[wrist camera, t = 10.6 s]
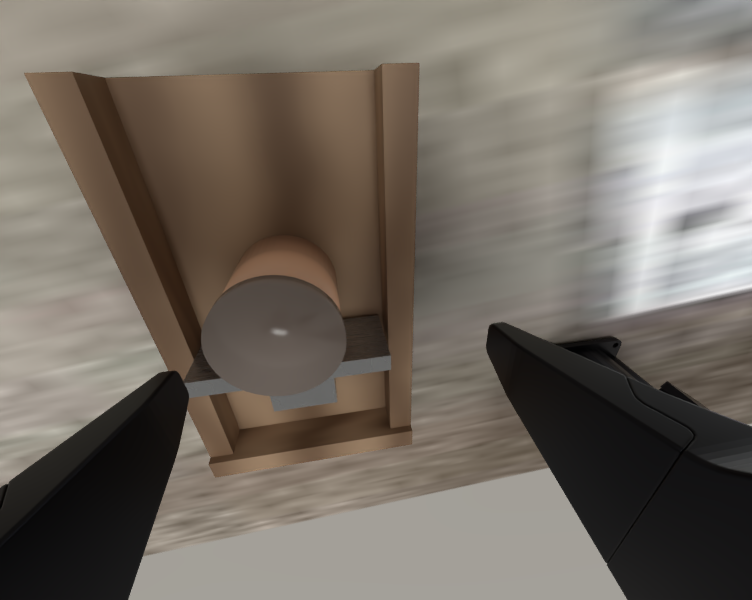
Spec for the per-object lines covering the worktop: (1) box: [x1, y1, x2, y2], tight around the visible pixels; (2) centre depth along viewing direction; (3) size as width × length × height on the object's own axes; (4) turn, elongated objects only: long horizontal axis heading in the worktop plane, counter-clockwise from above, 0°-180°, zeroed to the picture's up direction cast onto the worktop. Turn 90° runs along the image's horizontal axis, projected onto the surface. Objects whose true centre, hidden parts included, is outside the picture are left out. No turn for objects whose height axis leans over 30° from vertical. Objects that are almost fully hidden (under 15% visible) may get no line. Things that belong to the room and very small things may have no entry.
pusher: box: [183, 315, 391, 412], centre depth 19 cm, size 10×5×4 cm, turn 92°
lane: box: [24, 63, 419, 477], centre depth 19 cm, size 14×23×4 cm, turn 2°
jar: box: [201, 235, 346, 396], centre depth 16 cm, size 6×6×6 cm
